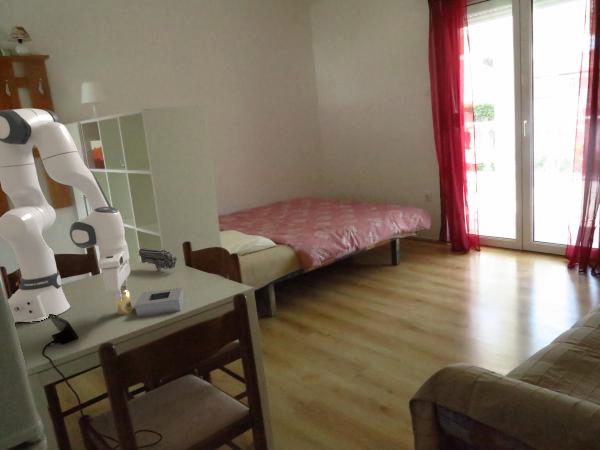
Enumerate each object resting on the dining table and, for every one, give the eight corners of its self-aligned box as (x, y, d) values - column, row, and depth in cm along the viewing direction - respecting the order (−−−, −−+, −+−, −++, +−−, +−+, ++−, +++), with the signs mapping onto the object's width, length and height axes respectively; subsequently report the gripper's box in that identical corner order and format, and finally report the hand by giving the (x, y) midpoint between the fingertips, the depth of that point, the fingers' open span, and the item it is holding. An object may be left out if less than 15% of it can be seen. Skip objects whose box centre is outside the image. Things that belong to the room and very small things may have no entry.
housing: (137, 319, 155) (135, 305, 154) (144, 306, 167) (141, 292, 166) (181, 313, 157) (178, 299, 156) (184, 300, 169) (182, 287, 168)
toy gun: (145, 266, 217) (142, 245, 215) (180, 271, 204) (176, 249, 201) (139, 268, 215) (136, 247, 213) (174, 274, 201) (170, 251, 199)
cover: (116, 318, 158) (111, 294, 156) (119, 313, 163) (115, 289, 161) (131, 316, 159) (127, 292, 157) (134, 311, 163) (130, 287, 162)
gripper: (112, 249, 166) (119, 286, 169) (96, 265, 146) (104, 307, 149) (131, 246, 167) (137, 283, 170) (117, 263, 147) (125, 304, 150)
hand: (122, 295), depth 159 cm, fingers open, 6 cm apart
